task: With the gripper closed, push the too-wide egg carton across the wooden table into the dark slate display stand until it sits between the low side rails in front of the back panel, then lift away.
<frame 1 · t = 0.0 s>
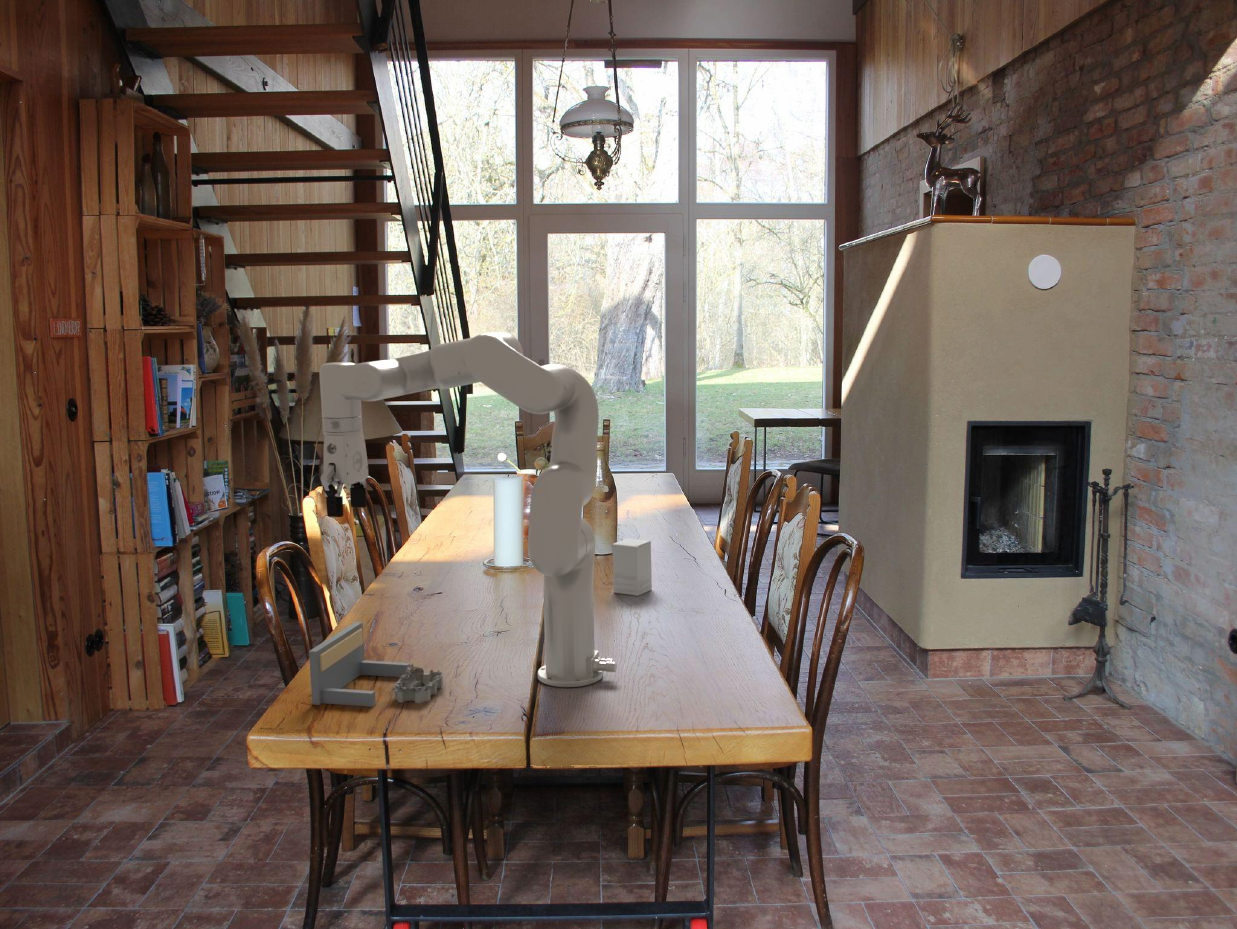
hand: (347, 511, 205), 31 cm above the table, tool pointing down, fingers open, 9 cm apart
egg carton: (420, 694, 193), on the table
display stand: (372, 689, 195), on the table
supplement box: (632, 592, 260), on the table
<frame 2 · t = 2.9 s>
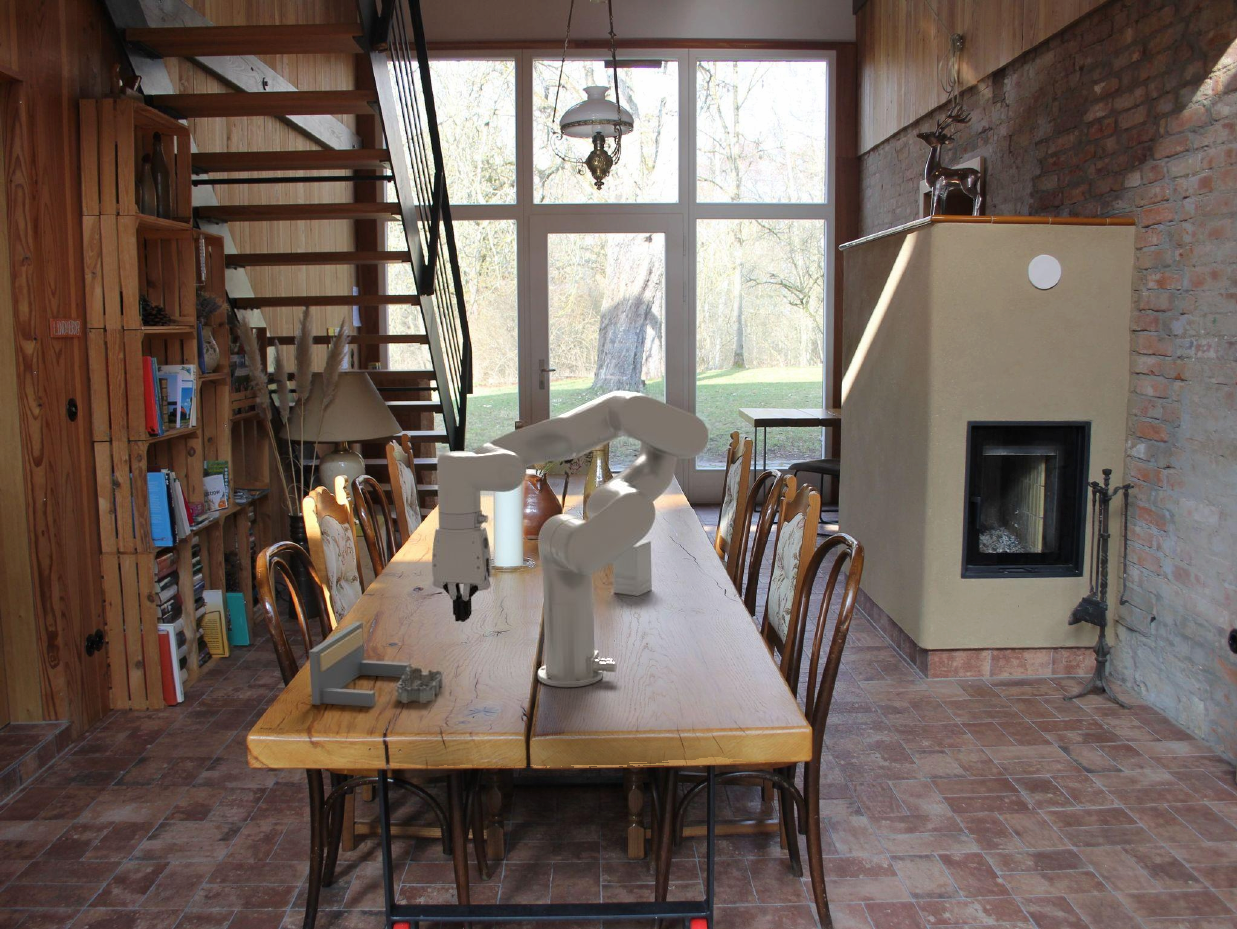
hand: (462, 619, 188), 15 cm above the table, tool pointing down, fingers closed
nothing on the table moved.
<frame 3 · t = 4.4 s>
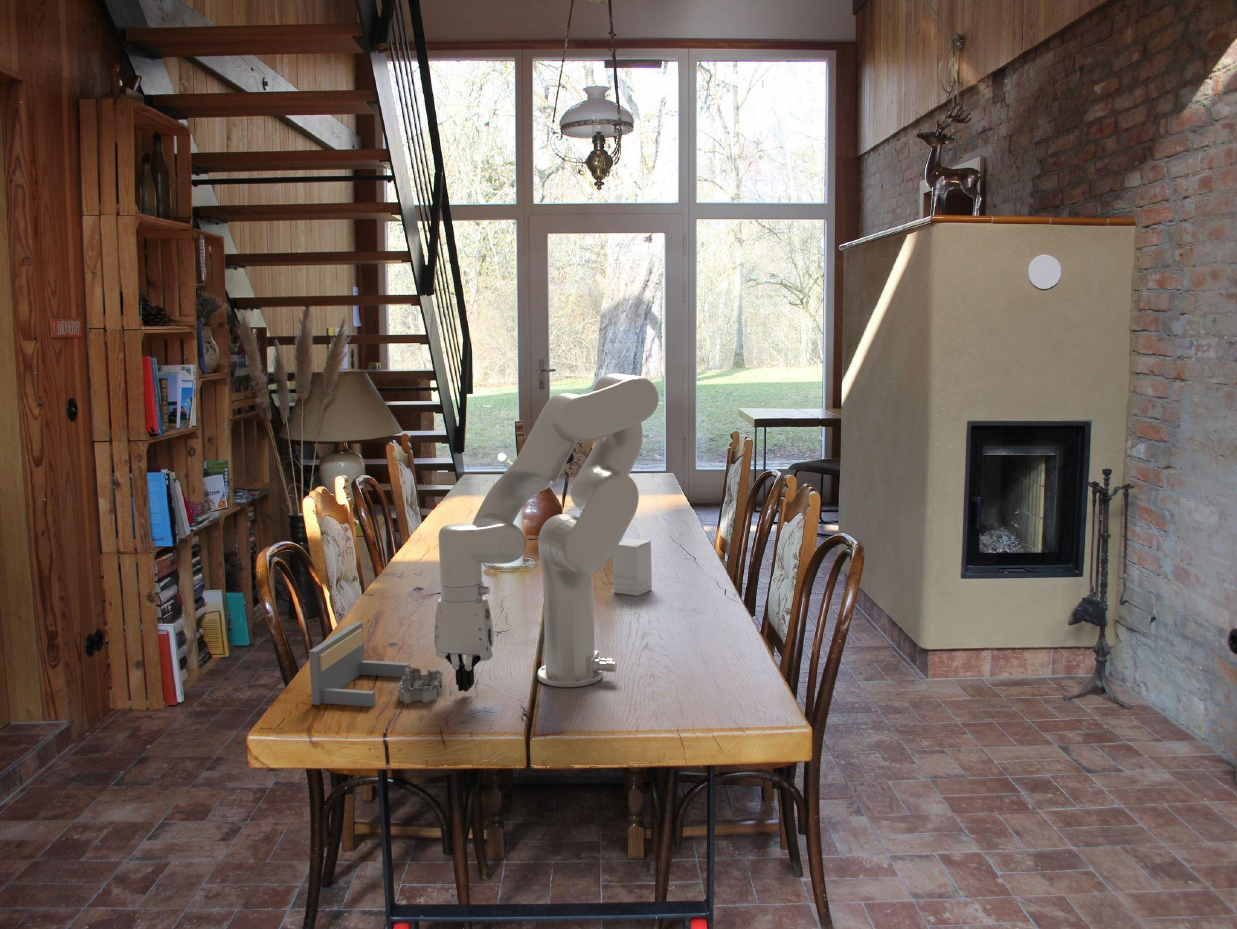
hand: (465, 688, 191), 1 cm above the table, tool pointing down, fingers closed
nothing on the table moved.
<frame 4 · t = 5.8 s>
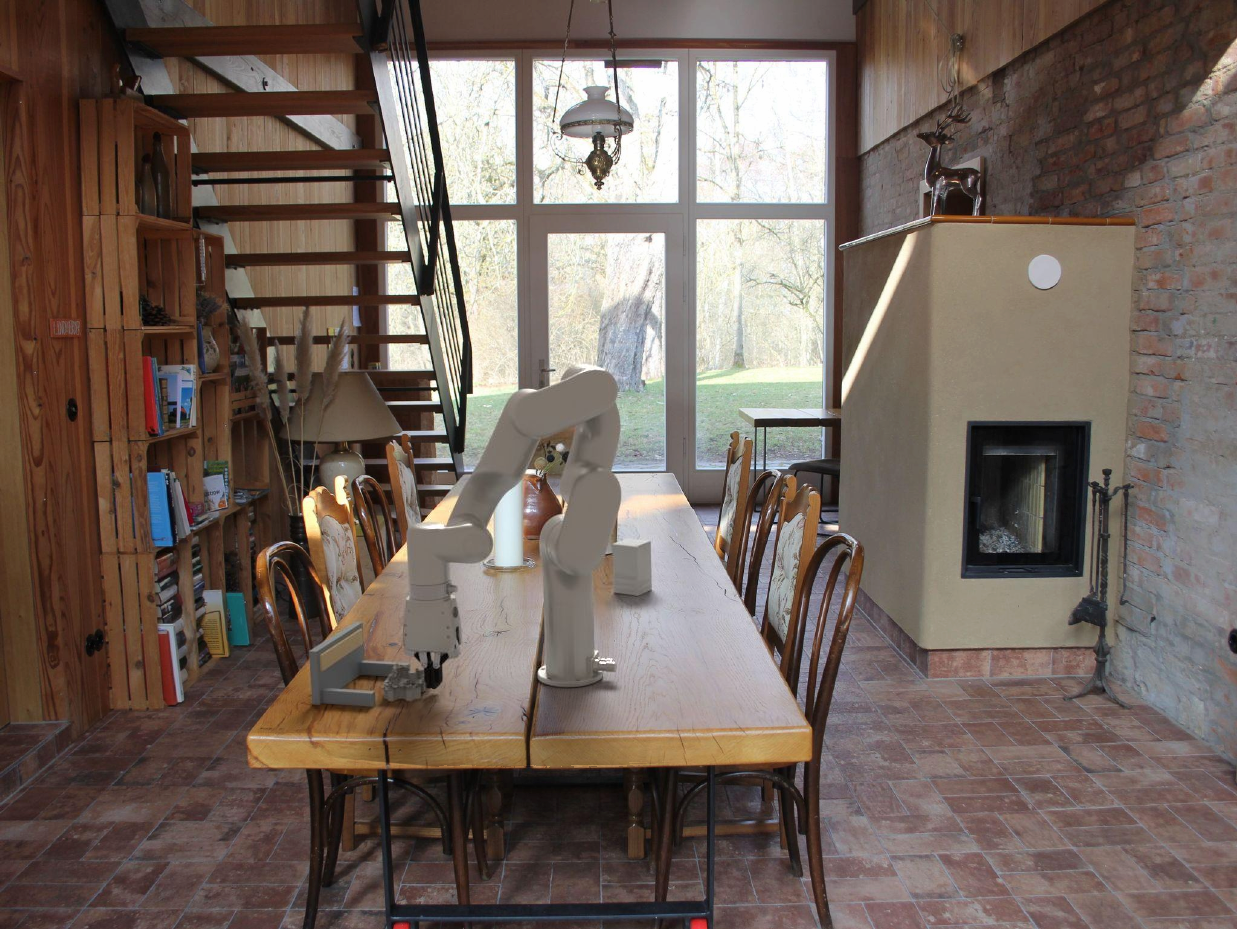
hand: (433, 686, 192), 1 cm above the table, tool pointing down, fingers closed
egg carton: (408, 693, 194), on the table, touching gripper
everything else where it was.
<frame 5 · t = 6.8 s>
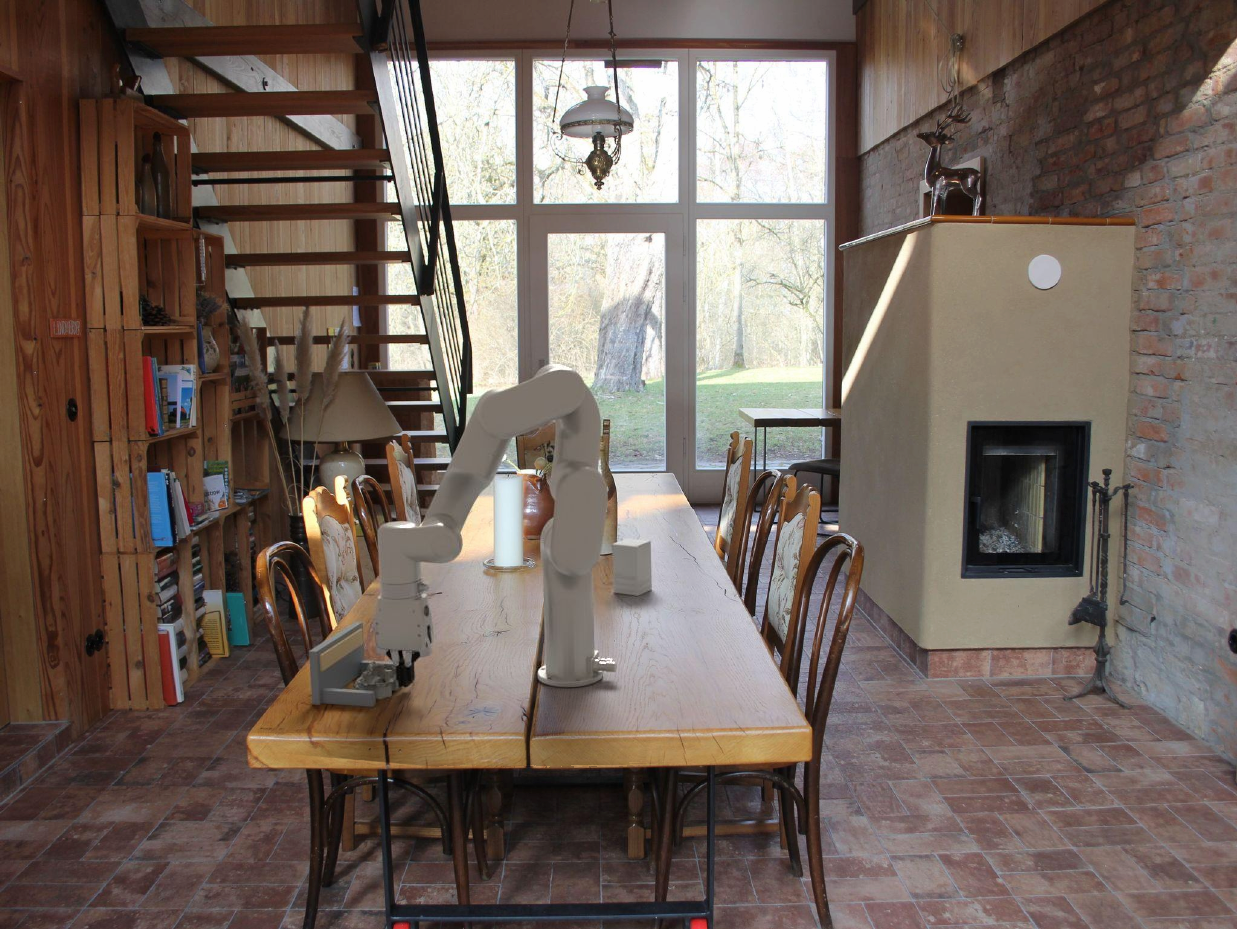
hand: (405, 684, 193), 1 cm above the table, tool pointing down, fingers closed
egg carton: (381, 691, 195), on the table, touching gripper
everything else where it was.
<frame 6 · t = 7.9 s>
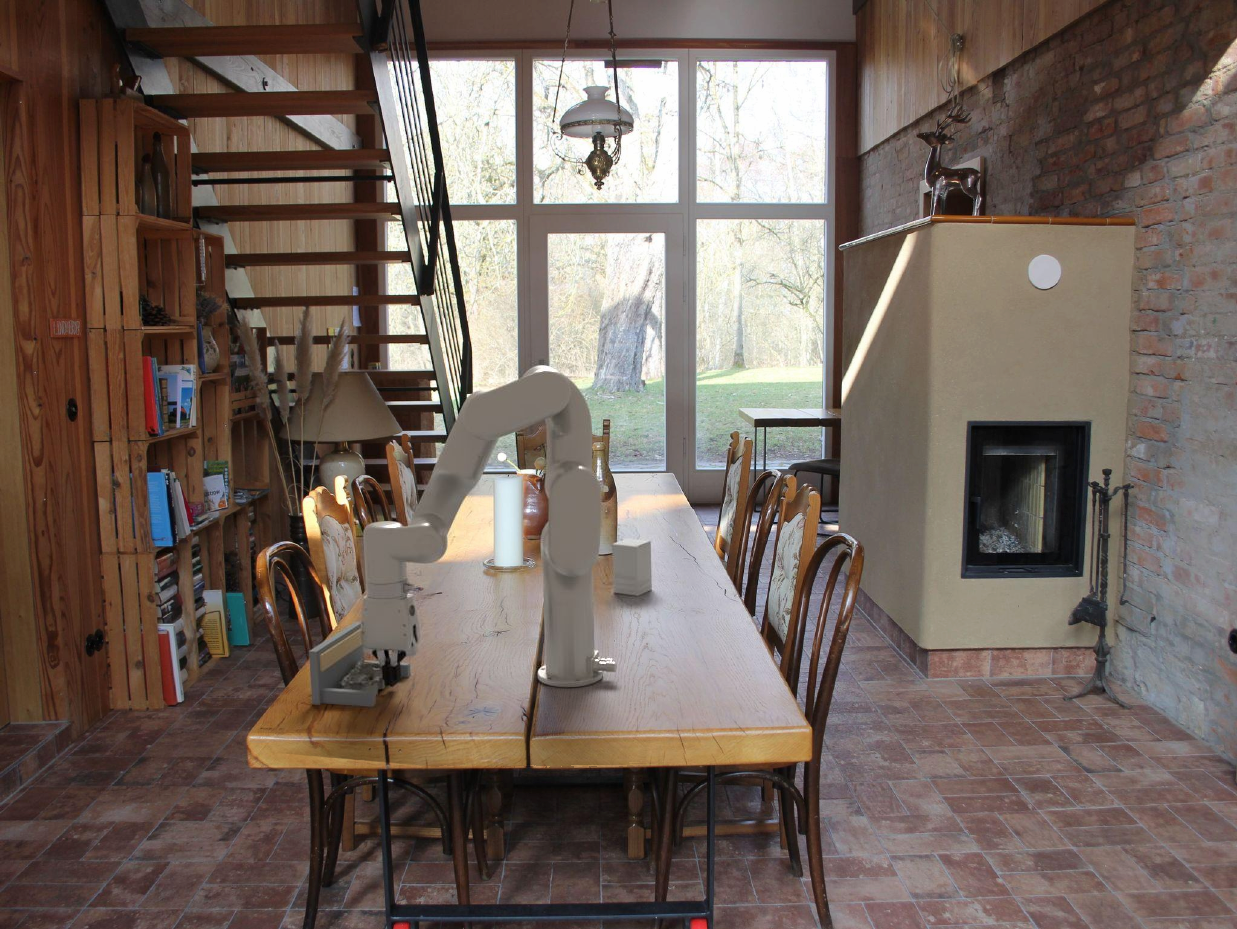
hand: (392, 683, 194), 1 cm above the table, tool pointing down, fingers closed
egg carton: (368, 689, 196), on the table
everything else where it was.
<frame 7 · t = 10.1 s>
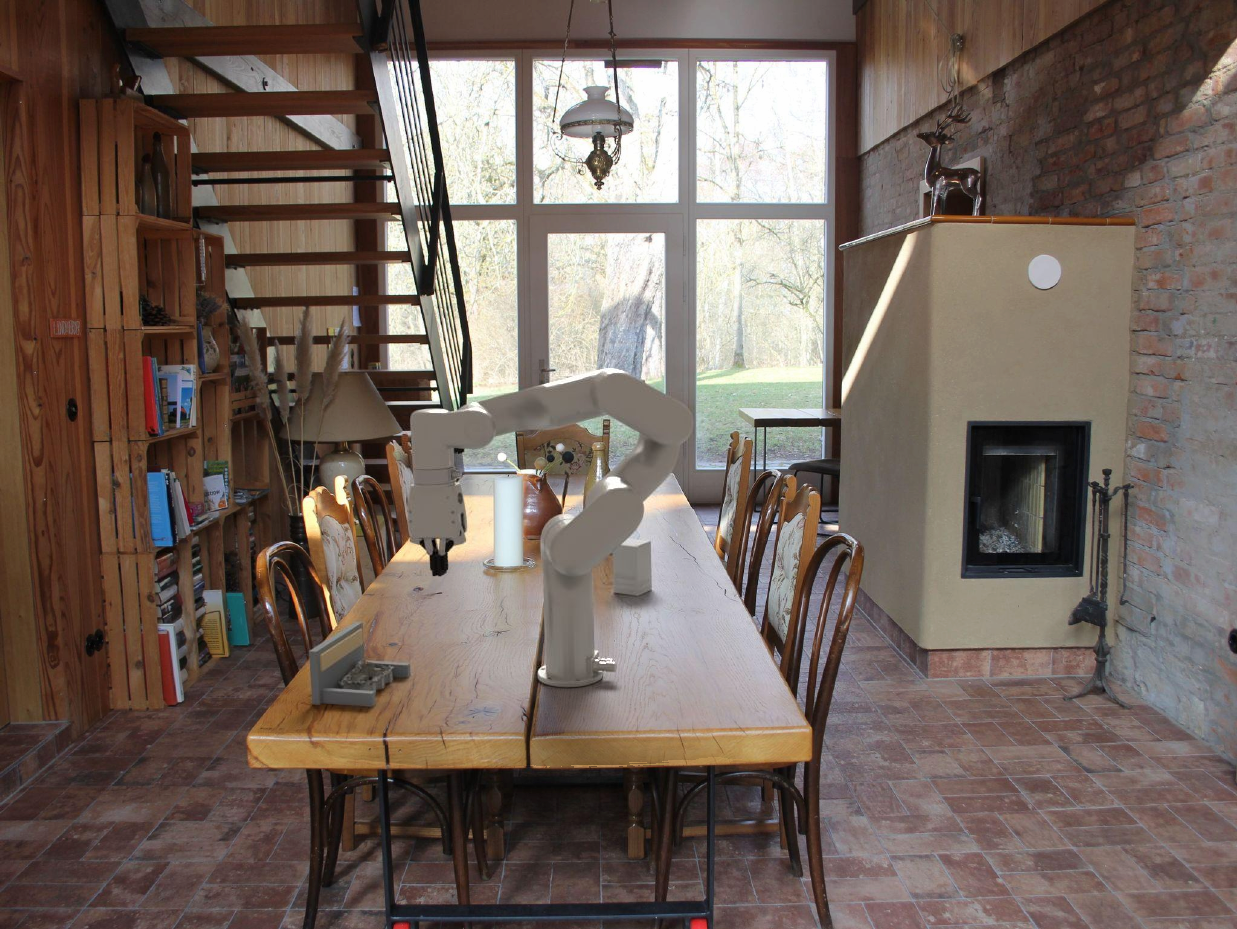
hand: (439, 574, 192), 22 cm above the table, tool pointing down, fingers closed
nothing on the table moved.
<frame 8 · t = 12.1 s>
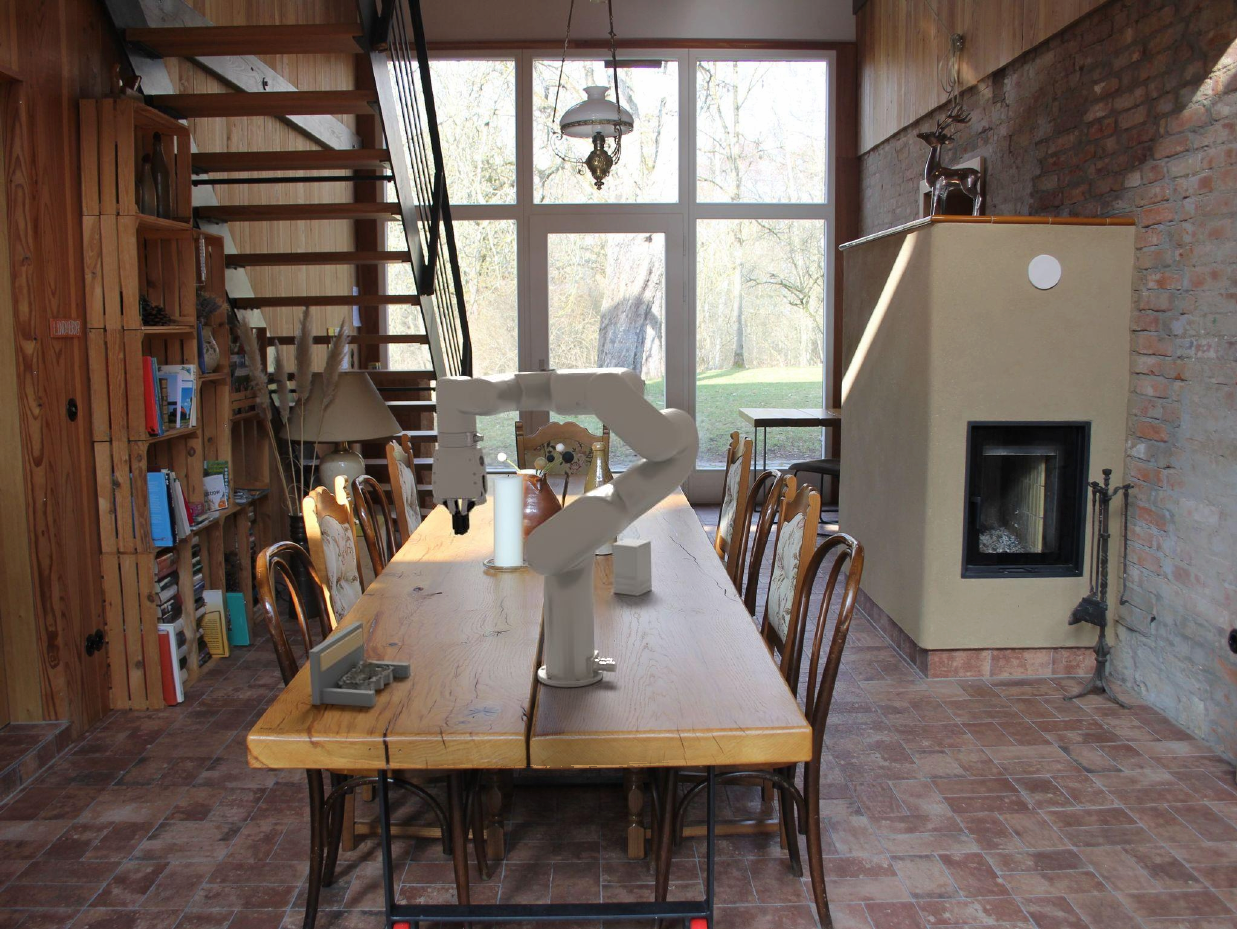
hand: (461, 533, 203), 27 cm above the table, tool pointing down, fingers closed
nothing on the table moved.
at the end: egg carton 1.9 cm off-centre on the display stand, point -0.5 cm above the display stand's base; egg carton tilted 0°; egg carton moved 11.1 cm from its start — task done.
